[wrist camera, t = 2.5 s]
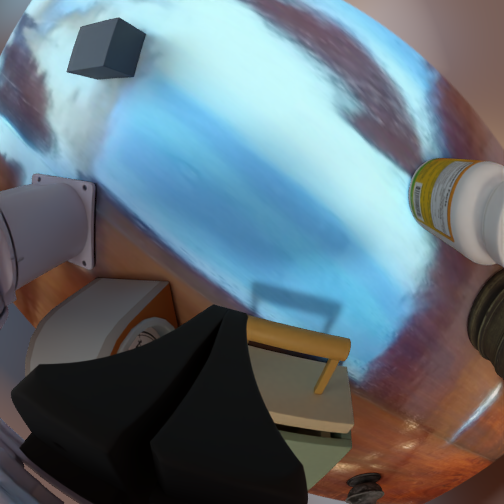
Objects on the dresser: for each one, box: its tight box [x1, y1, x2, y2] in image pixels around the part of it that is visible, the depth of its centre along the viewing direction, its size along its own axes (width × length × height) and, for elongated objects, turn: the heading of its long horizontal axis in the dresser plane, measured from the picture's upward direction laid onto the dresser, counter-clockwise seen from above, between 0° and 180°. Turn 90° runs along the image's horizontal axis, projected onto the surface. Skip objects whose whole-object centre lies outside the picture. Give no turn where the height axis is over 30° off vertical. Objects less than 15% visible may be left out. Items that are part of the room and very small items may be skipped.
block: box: [67, 18, 146, 80], centre depth 15 cm, size 4×4×4 cm
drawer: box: [247, 315, 354, 438], centre depth 20 cm, size 18×11×6 cm, turn 169°
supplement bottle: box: [409, 158, 504, 267], centre depth 12 cm, size 5×5×10 cm
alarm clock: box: [25, 278, 178, 377], centre depth 19 cm, size 15×8×14 cm, turn 4°
